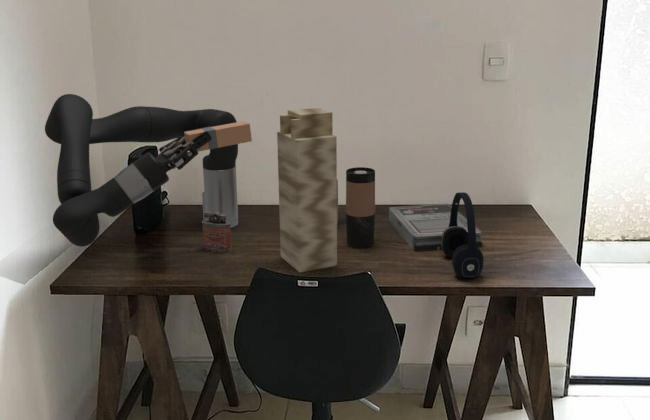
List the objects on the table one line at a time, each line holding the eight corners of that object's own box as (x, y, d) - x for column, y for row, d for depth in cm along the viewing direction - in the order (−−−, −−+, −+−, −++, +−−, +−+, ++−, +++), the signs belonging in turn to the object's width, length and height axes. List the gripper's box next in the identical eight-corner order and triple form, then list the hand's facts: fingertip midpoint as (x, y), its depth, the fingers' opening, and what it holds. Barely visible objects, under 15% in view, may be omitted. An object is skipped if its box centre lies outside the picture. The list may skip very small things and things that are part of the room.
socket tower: (299, 272, 168) (296, 117, 157) (280, 256, 178) (276, 109, 168) (337, 265, 172) (336, 113, 161) (316, 250, 183) (314, 106, 172)
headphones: (438, 253, 180) (441, 183, 175) (465, 252, 180) (468, 183, 175) (455, 283, 161) (458, 206, 156) (485, 282, 161) (489, 206, 156)
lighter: (234, 248, 185) (232, 212, 182) (228, 253, 181) (226, 216, 179) (207, 245, 187) (204, 209, 184) (200, 249, 184) (198, 213, 181)
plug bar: (191, 152, 153) (188, 134, 152) (186, 149, 156) (183, 131, 155) (252, 141, 158) (249, 123, 157) (245, 138, 162) (243, 120, 160)
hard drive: (413, 253, 181) (414, 236, 180) (387, 221, 207) (388, 207, 206) (481, 248, 184) (482, 232, 183) (447, 217, 210) (448, 203, 208)
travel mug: (378, 241, 189) (379, 168, 183) (368, 250, 182) (369, 175, 177) (352, 237, 192) (352, 166, 186) (341, 246, 186) (341, 172, 180)
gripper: (144, 184, 160) (206, 140, 163) (158, 199, 147) (225, 152, 151) (125, 157, 156) (188, 114, 160) (138, 171, 144) (206, 123, 147)
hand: (205, 133), depth 155 cm, fingers closed on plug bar, 4 cm apart
